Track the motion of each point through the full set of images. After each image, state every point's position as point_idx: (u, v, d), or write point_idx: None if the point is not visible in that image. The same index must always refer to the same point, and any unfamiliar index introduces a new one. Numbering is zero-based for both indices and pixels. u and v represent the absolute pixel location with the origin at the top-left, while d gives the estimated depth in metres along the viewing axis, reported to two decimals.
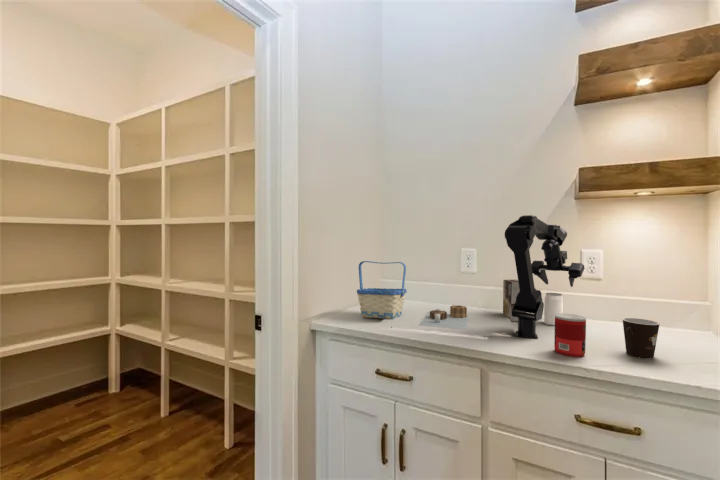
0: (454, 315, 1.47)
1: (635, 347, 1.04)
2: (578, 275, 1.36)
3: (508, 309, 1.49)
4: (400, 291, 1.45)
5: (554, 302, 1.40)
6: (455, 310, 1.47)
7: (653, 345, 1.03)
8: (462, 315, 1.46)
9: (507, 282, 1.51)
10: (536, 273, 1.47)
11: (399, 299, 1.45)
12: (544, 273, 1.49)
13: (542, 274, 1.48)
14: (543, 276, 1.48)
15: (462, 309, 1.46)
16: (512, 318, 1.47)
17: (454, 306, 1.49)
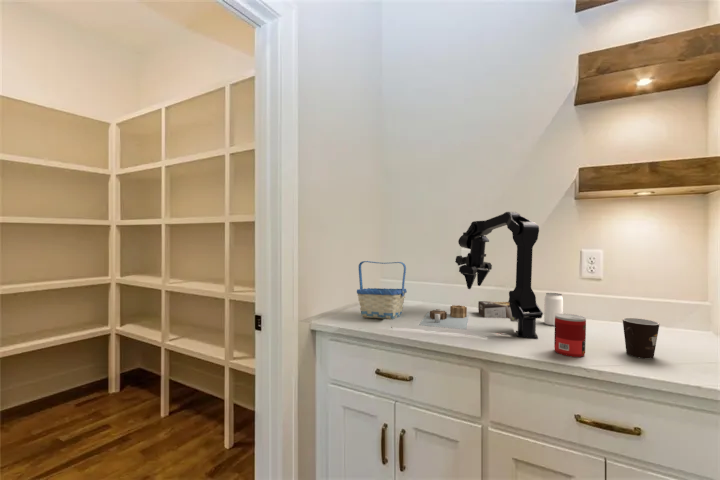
0: (454, 315, 1.47)
1: (635, 347, 1.04)
2: (491, 267, 1.57)
3: None
4: (400, 291, 1.45)
5: (554, 302, 1.40)
6: (455, 310, 1.47)
7: (653, 345, 1.03)
8: (462, 315, 1.46)
9: None
10: (475, 273, 1.46)
11: (399, 299, 1.45)
12: None
13: None
14: None
15: (462, 309, 1.46)
16: None
17: (454, 306, 1.49)
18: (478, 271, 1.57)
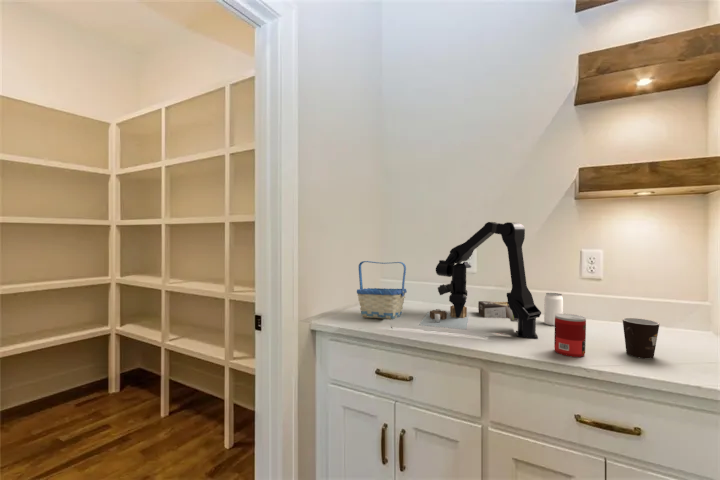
0: (454, 315, 1.47)
1: (635, 347, 1.04)
2: None
3: None
4: (400, 291, 1.45)
5: (554, 302, 1.40)
6: None
7: (653, 345, 1.03)
8: (462, 315, 1.46)
9: None
10: (465, 301, 1.42)
11: (399, 299, 1.45)
12: None
13: None
14: None
15: None
16: None
17: None
18: None
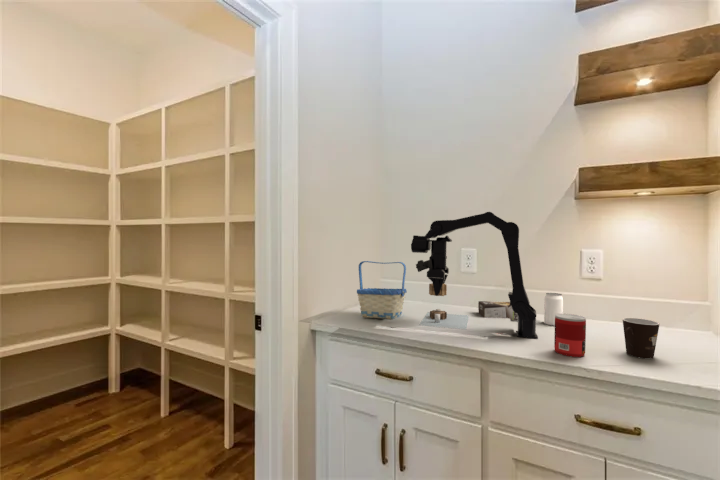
0: (433, 293, 1.37)
1: (635, 347, 1.04)
2: None
3: None
4: (400, 291, 1.45)
5: (554, 302, 1.40)
6: None
7: (653, 345, 1.03)
8: (441, 293, 1.36)
9: None
10: (444, 276, 1.31)
11: (399, 299, 1.45)
12: None
13: None
14: None
15: None
16: None
17: None
18: None
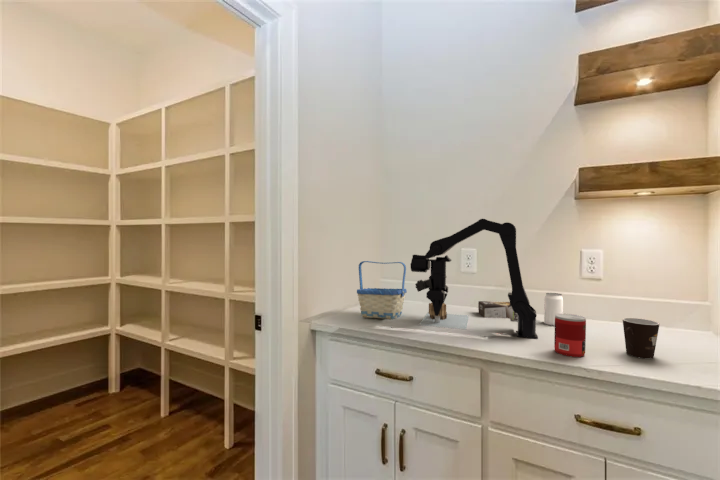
0: (432, 313, 1.37)
1: (635, 347, 1.04)
2: None
3: None
4: (400, 291, 1.45)
5: (554, 302, 1.40)
6: None
7: (653, 345, 1.03)
8: (441, 313, 1.36)
9: None
10: (444, 297, 1.31)
11: (399, 299, 1.45)
12: None
13: None
14: None
15: None
16: None
17: None
18: None
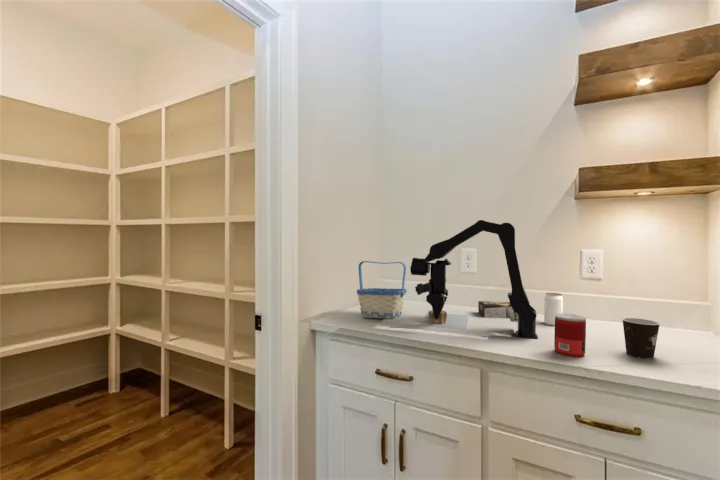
0: (432, 321, 1.37)
1: (635, 347, 1.04)
2: None
3: None
4: (400, 291, 1.45)
5: (554, 302, 1.40)
6: (433, 315, 1.37)
7: (653, 345, 1.03)
8: (441, 321, 1.36)
9: None
10: (444, 301, 1.31)
11: (399, 299, 1.45)
12: None
13: None
14: None
15: (441, 314, 1.36)
16: None
17: None
18: None
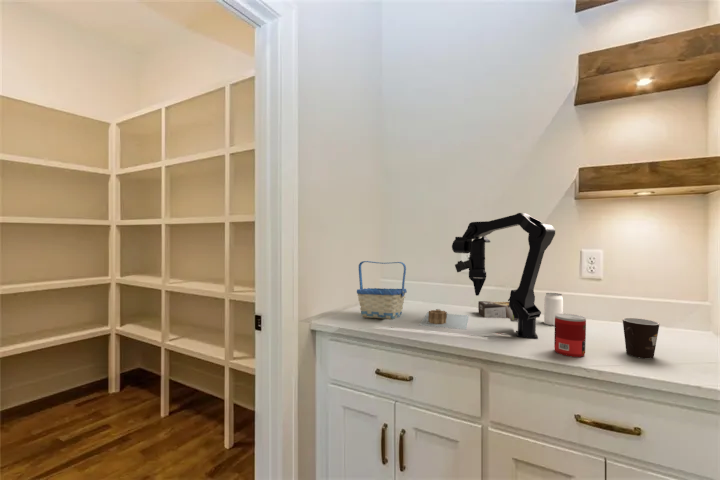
0: (432, 321, 1.37)
1: (635, 347, 1.04)
2: None
3: None
4: (400, 291, 1.45)
5: (554, 302, 1.40)
6: (433, 315, 1.37)
7: (653, 345, 1.03)
8: (441, 321, 1.36)
9: None
10: None
11: (399, 299, 1.45)
12: None
13: None
14: None
15: (441, 314, 1.36)
16: None
17: (433, 311, 1.39)
18: None
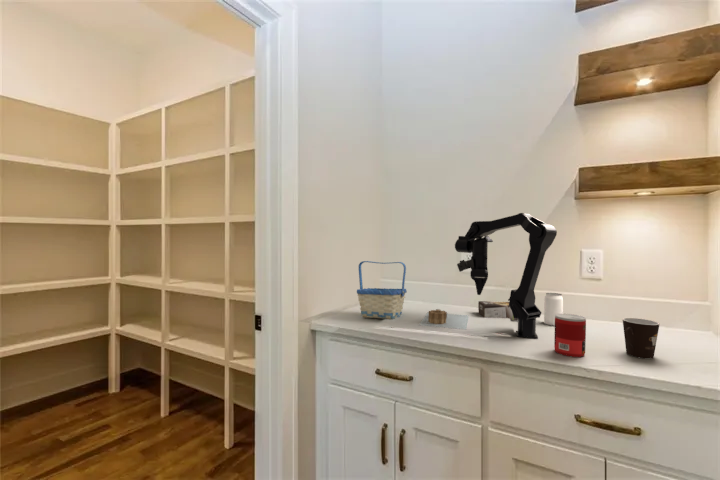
0: (432, 321, 1.37)
1: (635, 347, 1.04)
2: None
3: None
4: (400, 291, 1.45)
5: (554, 302, 1.40)
6: (433, 315, 1.37)
7: (653, 345, 1.03)
8: (441, 321, 1.36)
9: None
10: (487, 276, 1.35)
11: (399, 299, 1.45)
12: None
13: None
14: None
15: (441, 314, 1.36)
16: None
17: (433, 311, 1.39)
18: None
